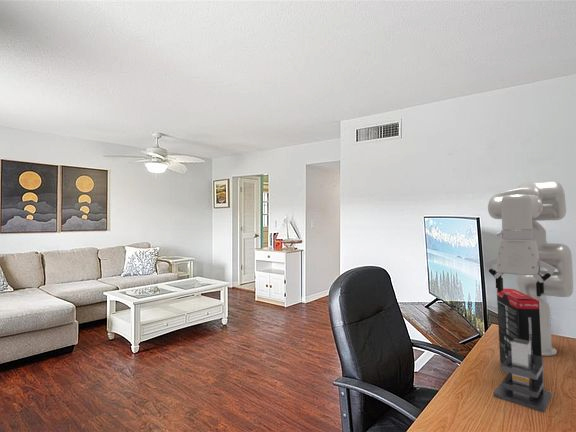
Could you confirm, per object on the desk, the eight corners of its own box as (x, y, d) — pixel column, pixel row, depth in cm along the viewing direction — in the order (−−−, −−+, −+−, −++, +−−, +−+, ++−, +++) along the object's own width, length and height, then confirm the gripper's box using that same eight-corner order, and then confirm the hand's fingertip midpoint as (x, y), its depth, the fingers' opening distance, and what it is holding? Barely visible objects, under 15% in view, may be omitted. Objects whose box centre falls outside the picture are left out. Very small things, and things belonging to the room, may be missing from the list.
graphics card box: (545, 386, 103) (542, 298, 104) (520, 385, 105) (517, 298, 105) (518, 363, 120) (516, 288, 121) (497, 362, 121) (495, 287, 122)
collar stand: (504, 382, 107) (503, 347, 107) (551, 395, 98) (550, 358, 98) (493, 396, 98) (492, 358, 99) (544, 412, 90) (542, 371, 90)
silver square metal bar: (516, 387, 101) (514, 338, 101) (532, 392, 98) (530, 341, 98) (512, 392, 98) (510, 341, 99) (529, 397, 95) (527, 345, 96)
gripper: (481, 236, 103) (482, 291, 103) (551, 236, 90) (554, 300, 90) (488, 235, 108) (490, 287, 108) (556, 235, 96) (558, 295, 95)
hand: (519, 293), depth 99 cm, fingers open, 9 cm apart
